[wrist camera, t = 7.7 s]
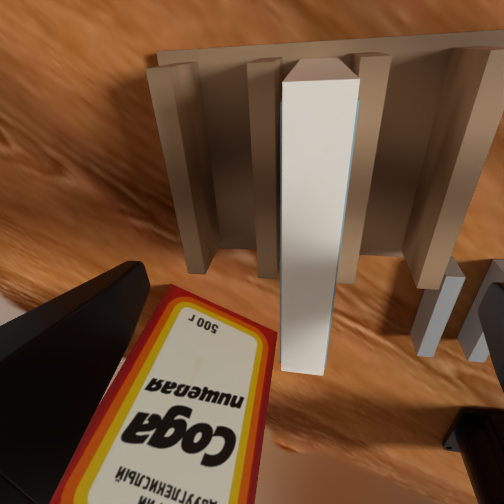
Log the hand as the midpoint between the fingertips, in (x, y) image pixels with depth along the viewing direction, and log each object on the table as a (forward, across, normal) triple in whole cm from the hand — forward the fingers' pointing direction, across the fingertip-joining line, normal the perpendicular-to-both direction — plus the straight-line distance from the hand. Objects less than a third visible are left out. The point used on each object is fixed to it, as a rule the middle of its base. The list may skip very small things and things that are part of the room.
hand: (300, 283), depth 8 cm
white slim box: (+10, 0, 0) cm, 10 cm away
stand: (+11, -10, +10) cm, 18 cm away
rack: (+11, 0, 0) cm, 11 cm away
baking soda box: (+11, +8, +15) cm, 20 cm away
